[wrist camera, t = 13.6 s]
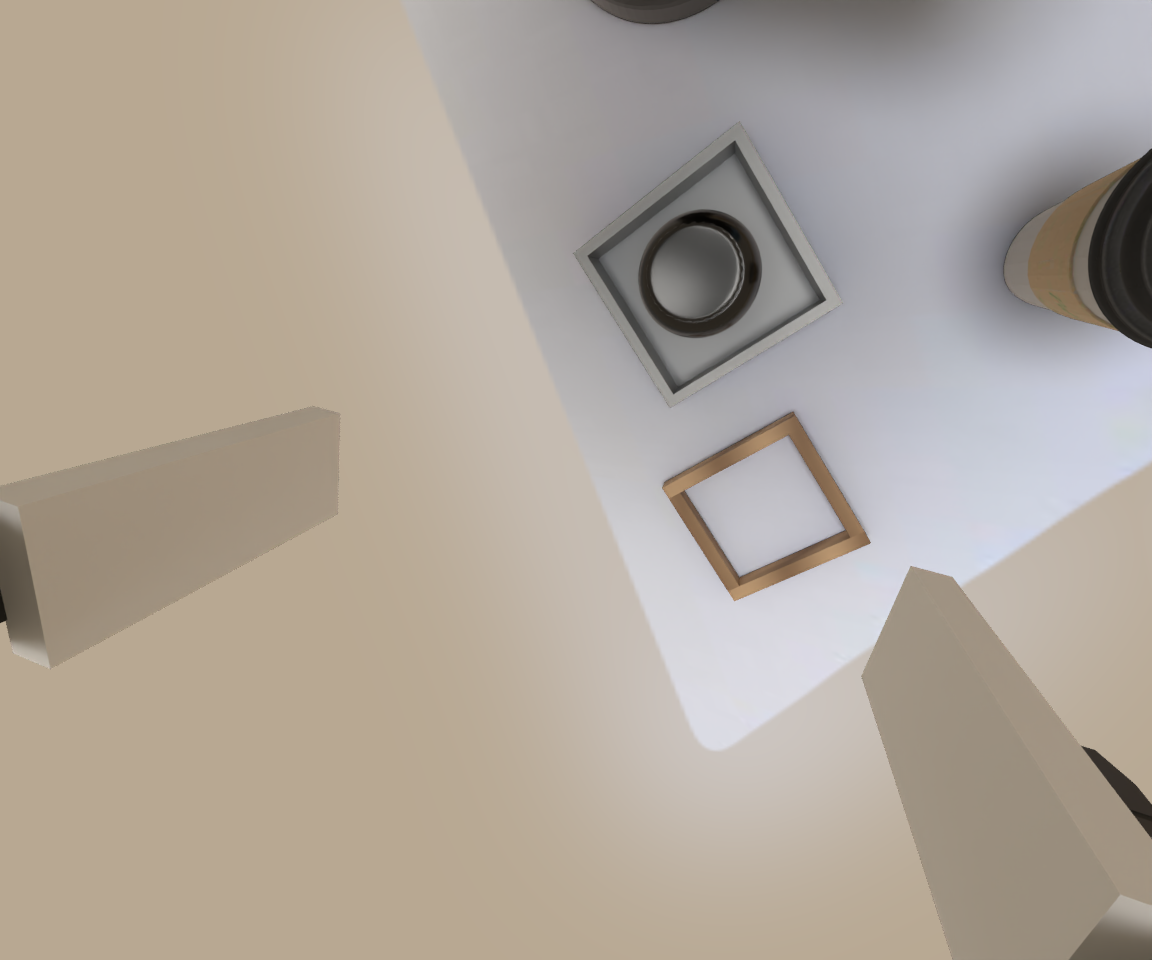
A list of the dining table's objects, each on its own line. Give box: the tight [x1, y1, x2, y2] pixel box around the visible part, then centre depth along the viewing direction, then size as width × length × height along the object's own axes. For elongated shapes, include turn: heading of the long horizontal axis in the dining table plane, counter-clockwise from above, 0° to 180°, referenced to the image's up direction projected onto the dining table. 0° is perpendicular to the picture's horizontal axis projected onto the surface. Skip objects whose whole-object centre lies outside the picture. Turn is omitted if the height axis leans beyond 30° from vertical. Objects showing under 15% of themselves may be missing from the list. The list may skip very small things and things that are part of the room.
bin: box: [573, 121, 843, 408], centre depth 38 cm, size 12×12×4 cm
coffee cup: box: [1004, 149, 1152, 348], centre depth 27 cm, size 9×9×15 cm
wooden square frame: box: [662, 412, 871, 601], centre depth 43 cm, size 11×11×2 cm
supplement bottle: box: [638, 209, 762, 338], centre depth 33 cm, size 7×7×12 cm
